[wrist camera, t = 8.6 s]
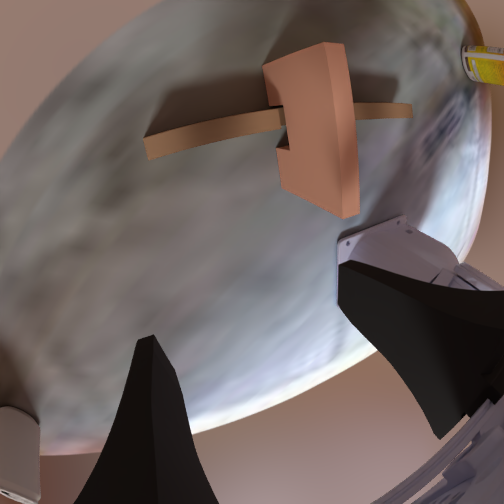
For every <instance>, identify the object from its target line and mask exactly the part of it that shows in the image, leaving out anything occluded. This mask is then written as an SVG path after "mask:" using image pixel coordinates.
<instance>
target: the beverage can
mask: <svg viewBox="0 0 504 504" xmlns="http://www.w3.org/2000/svg"><path fill="white" fill-rule="evenodd" d="M39 451H40V427H39V425H38V424H37V423H36V421H35V420H34V419H33V418H32V417H31V416H30V415H29V414H27V413H25V412H24V411H22V410H20V409H17V408H14V407H10V406H5V407H1V408H0V494H2V495H4V496H7V497H8V498H11V499H13V500H15V501H18V502H21V503H24V504H38V501H39V500H40V498H41V492H40V472H39Z"/></svg>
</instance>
